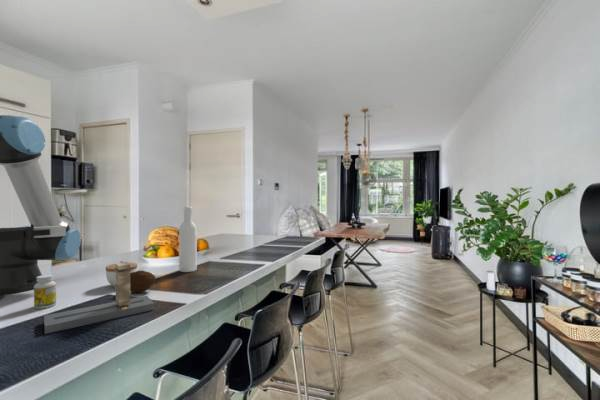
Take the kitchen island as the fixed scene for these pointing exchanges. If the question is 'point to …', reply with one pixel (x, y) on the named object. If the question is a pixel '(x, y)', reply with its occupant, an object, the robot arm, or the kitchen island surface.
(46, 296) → the supplement bottle
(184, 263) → the bottle
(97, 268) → the kitchen island surface
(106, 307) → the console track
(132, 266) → the lidded jar
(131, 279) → the potato
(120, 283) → the fader tab
